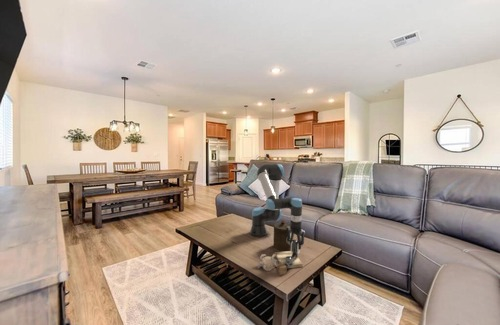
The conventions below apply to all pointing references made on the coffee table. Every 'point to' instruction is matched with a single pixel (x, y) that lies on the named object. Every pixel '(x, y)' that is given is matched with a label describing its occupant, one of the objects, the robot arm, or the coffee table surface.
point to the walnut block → (281, 268)
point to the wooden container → (281, 237)
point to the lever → (294, 254)
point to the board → (282, 259)
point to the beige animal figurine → (267, 262)
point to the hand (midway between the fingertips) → (295, 252)
